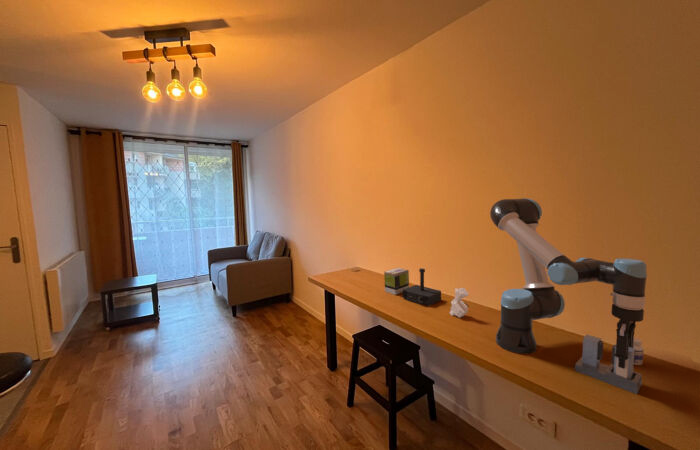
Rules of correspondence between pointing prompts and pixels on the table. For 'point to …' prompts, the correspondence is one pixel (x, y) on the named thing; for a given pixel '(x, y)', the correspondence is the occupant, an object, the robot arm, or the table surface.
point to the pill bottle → (638, 351)
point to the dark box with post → (422, 293)
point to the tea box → (396, 280)
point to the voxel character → (459, 303)
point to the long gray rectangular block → (630, 361)
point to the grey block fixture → (603, 366)
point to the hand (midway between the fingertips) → (623, 372)
